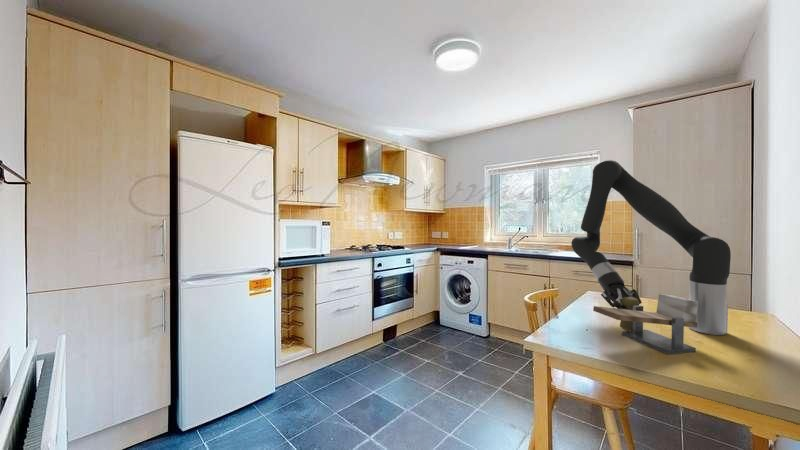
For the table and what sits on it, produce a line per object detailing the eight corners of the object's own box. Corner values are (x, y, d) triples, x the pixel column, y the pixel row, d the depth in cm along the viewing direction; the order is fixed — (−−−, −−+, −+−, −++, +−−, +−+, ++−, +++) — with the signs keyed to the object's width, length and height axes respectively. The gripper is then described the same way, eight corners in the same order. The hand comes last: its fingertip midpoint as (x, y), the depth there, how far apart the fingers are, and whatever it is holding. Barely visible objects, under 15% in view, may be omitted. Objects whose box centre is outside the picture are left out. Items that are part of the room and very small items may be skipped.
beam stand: (646, 333, 105) (647, 304, 105) (695, 351, 90) (696, 318, 90) (621, 334, 103) (622, 305, 103) (667, 354, 88) (668, 320, 88)
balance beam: (663, 317, 103) (666, 294, 103) (700, 329, 92) (703, 302, 93) (590, 309, 99) (594, 285, 99) (620, 321, 88) (624, 293, 88)
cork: (644, 331, 106) (644, 300, 106) (624, 330, 108) (625, 299, 107) (634, 325, 112) (635, 295, 112) (616, 324, 114) (616, 295, 113)
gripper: (596, 271, 116) (624, 312, 104) (629, 270, 118) (659, 310, 106) (585, 282, 121) (611, 322, 109) (617, 281, 123) (644, 320, 112)
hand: (634, 316), depth 108 cm, fingers closed on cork, 4 cm apart
